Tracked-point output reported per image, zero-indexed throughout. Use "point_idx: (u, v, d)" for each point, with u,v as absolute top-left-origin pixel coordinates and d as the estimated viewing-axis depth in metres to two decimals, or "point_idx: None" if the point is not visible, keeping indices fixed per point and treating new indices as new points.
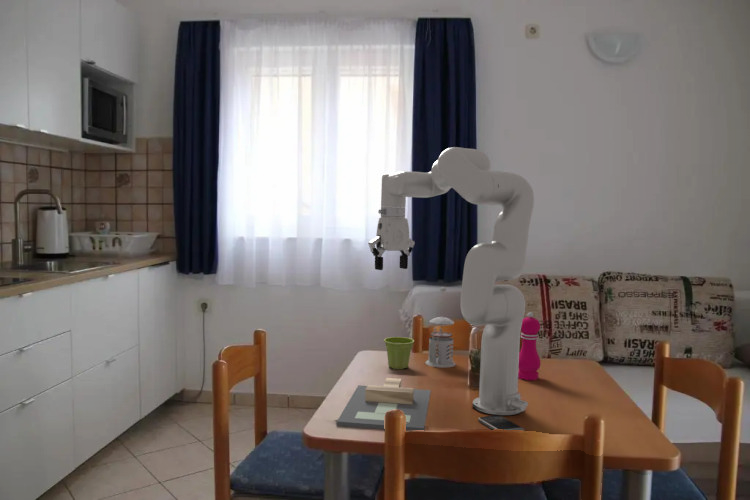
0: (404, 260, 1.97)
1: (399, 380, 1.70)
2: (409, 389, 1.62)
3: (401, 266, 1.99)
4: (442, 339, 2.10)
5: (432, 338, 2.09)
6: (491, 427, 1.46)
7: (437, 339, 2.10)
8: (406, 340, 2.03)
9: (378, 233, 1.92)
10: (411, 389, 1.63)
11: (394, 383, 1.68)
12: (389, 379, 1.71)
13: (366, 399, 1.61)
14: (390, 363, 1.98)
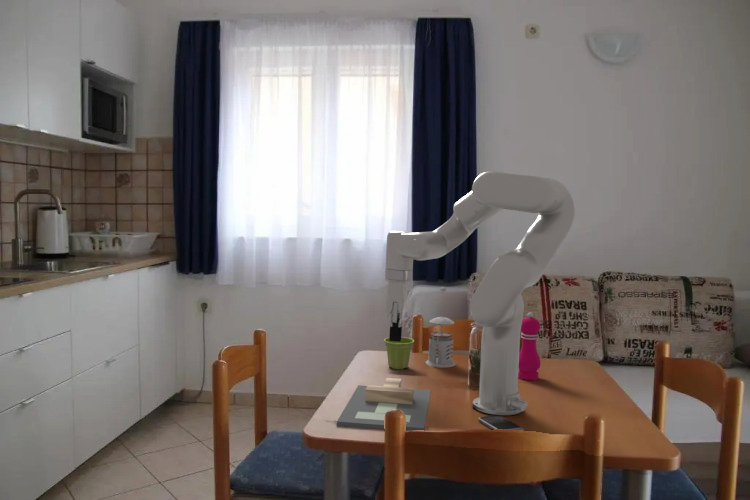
0: None
1: (399, 380, 1.70)
2: (409, 389, 1.62)
3: None
4: (442, 339, 2.10)
5: (432, 338, 2.09)
6: (491, 427, 1.46)
7: (437, 339, 2.10)
8: (406, 340, 2.03)
9: None
10: (411, 389, 1.63)
11: (394, 383, 1.68)
12: (389, 379, 1.71)
13: (366, 399, 1.61)
14: (390, 363, 1.98)
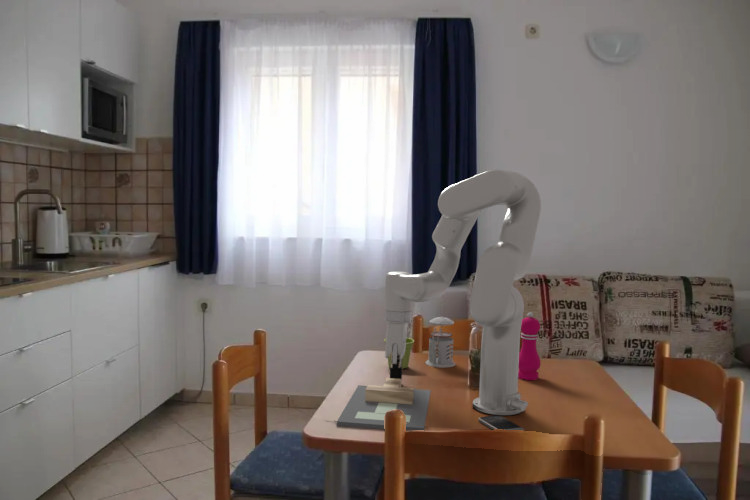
0: None
1: (399, 380, 1.70)
2: (409, 389, 1.62)
3: None
4: (442, 339, 2.10)
5: (432, 338, 2.09)
6: (491, 427, 1.46)
7: (437, 339, 2.10)
8: (406, 340, 2.03)
9: None
10: (411, 389, 1.63)
11: (394, 383, 1.68)
12: (389, 379, 1.71)
13: (366, 399, 1.61)
14: (390, 363, 1.98)
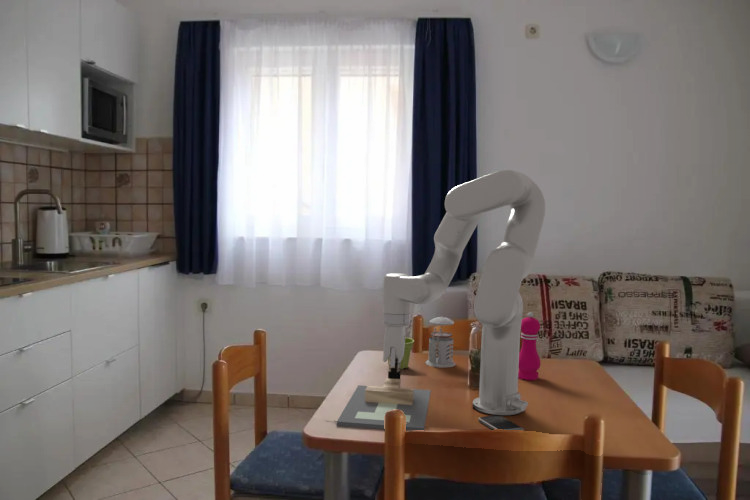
0: None
1: (399, 380, 1.70)
2: (409, 390, 1.62)
3: None
4: (442, 339, 2.10)
5: (432, 338, 2.09)
6: (491, 427, 1.46)
7: (437, 339, 2.10)
8: (406, 340, 2.03)
9: None
10: (411, 389, 1.62)
11: (394, 383, 1.67)
12: (389, 379, 1.71)
13: (366, 400, 1.61)
14: None
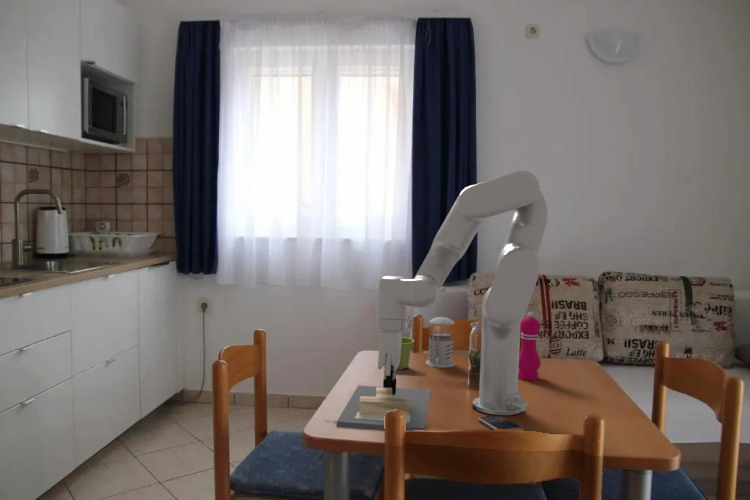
0: None
1: (390, 389, 1.62)
2: (405, 399, 1.54)
3: None
4: (442, 339, 2.10)
5: (432, 338, 2.09)
6: (491, 427, 1.46)
7: (437, 339, 2.10)
8: (406, 340, 2.03)
9: None
10: (407, 399, 1.54)
11: (387, 392, 1.59)
12: (379, 389, 1.62)
13: (360, 411, 1.51)
14: None
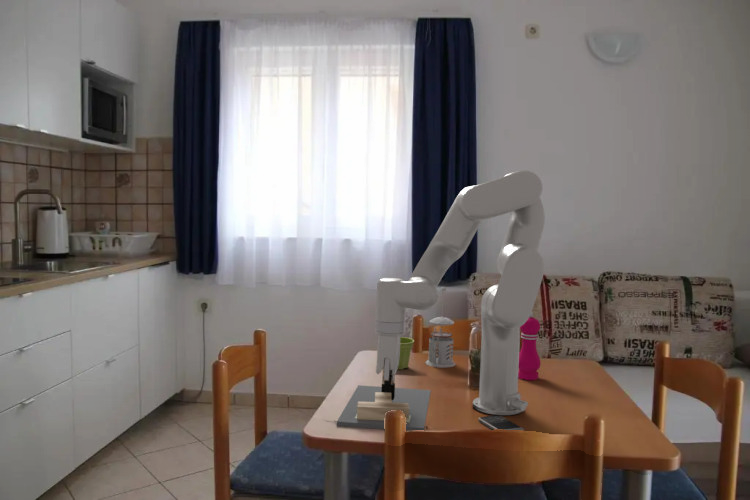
0: None
1: (389, 394, 1.57)
2: (404, 405, 1.49)
3: None
4: (442, 339, 2.10)
5: (432, 338, 2.09)
6: (491, 427, 1.46)
7: (437, 339, 2.10)
8: (406, 340, 2.03)
9: None
10: (406, 404, 1.50)
11: (386, 398, 1.54)
12: (378, 393, 1.58)
13: (358, 417, 1.47)
14: None
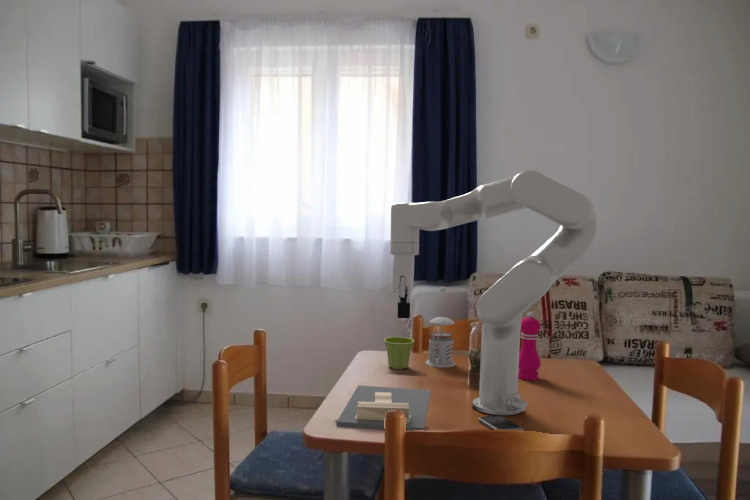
0: None
1: (389, 394, 1.57)
2: (404, 405, 1.49)
3: None
4: (442, 339, 2.10)
5: (432, 338, 2.09)
6: (491, 427, 1.46)
7: (437, 339, 2.10)
8: (406, 340, 2.03)
9: None
10: (406, 404, 1.50)
11: (386, 398, 1.54)
12: (378, 393, 1.58)
13: (358, 417, 1.47)
14: (390, 363, 1.98)
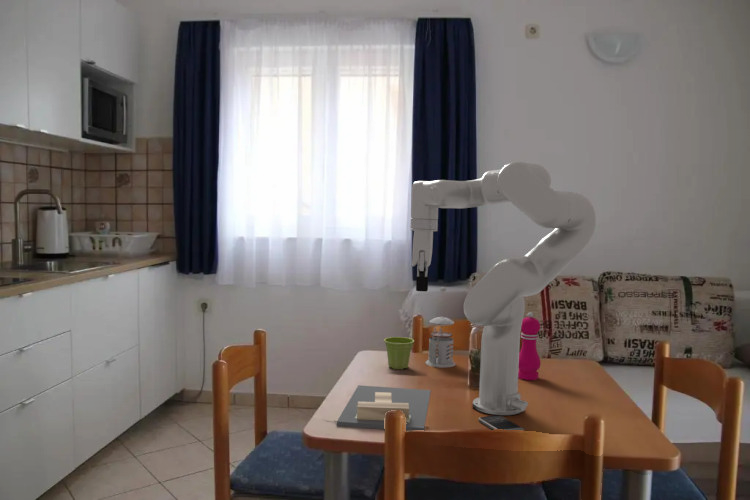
0: None
1: (389, 394, 1.57)
2: (404, 405, 1.49)
3: None
4: (442, 339, 2.10)
5: (432, 338, 2.09)
6: (491, 427, 1.46)
7: (437, 339, 2.10)
8: (406, 340, 2.03)
9: None
10: (406, 404, 1.50)
11: (386, 398, 1.54)
12: (378, 393, 1.58)
13: (358, 417, 1.47)
14: (390, 363, 1.98)
